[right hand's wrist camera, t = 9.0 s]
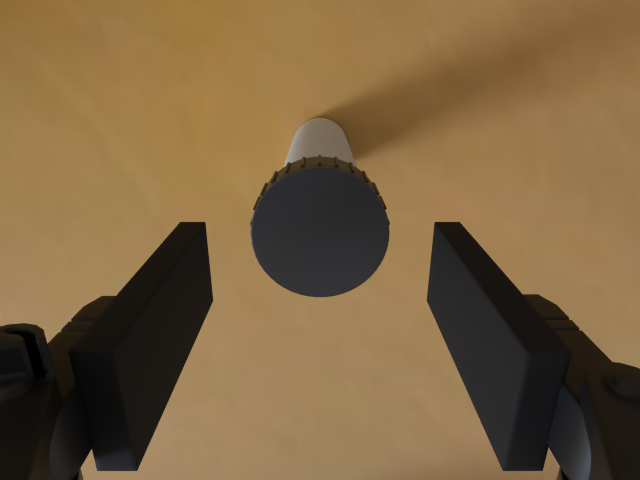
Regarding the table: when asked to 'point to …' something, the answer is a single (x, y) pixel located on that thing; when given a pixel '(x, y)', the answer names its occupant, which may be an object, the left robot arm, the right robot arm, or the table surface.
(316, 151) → the white cylinder
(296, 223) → the lid
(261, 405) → the table surface
